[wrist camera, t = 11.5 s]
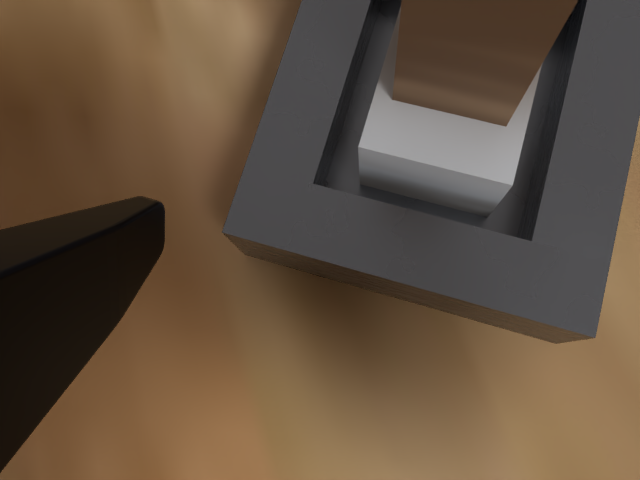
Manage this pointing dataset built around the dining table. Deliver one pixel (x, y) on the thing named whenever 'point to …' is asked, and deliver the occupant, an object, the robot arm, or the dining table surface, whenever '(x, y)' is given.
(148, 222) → the robot arm
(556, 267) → the holder block
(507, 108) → the slot cleaner tool
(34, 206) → the dining table surface
